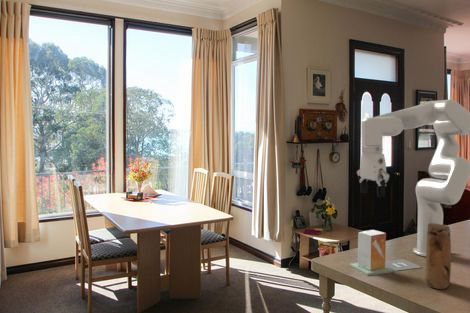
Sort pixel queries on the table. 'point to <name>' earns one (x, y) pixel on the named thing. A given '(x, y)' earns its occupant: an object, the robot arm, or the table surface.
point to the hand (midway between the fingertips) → (372, 194)
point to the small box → (371, 249)
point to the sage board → (372, 272)
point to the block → (438, 256)
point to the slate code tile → (400, 265)
